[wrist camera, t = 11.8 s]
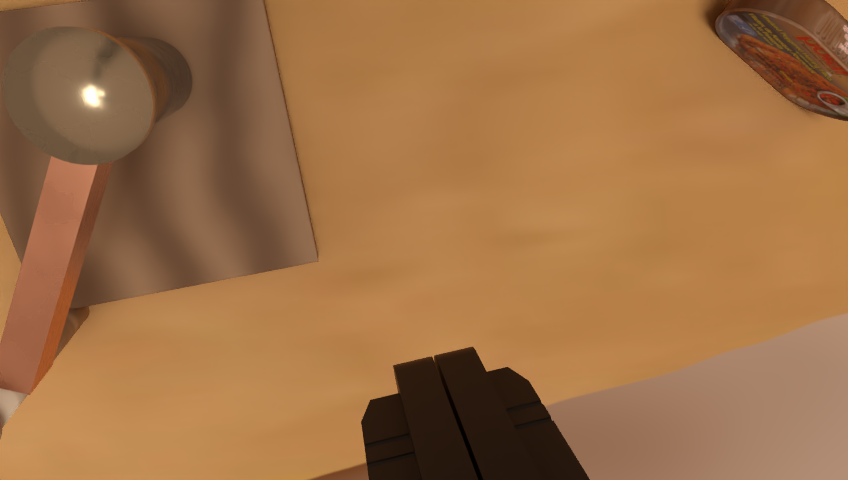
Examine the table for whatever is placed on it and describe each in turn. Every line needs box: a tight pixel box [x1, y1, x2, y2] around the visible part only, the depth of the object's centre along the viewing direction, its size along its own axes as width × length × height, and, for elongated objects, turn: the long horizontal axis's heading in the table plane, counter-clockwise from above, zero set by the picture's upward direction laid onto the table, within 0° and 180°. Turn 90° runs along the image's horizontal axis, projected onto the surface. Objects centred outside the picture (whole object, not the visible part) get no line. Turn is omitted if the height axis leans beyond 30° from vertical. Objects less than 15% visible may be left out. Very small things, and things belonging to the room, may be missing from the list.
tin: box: [715, 0, 848, 121], centre depth 43 cm, size 15×3×8 cm, turn 57°
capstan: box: [0, 26, 192, 395], centre depth 33 cm, size 20×6×13 cm, turn 156°
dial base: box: [0, 0, 318, 438], centre depth 34 cm, size 20×22×16 cm
